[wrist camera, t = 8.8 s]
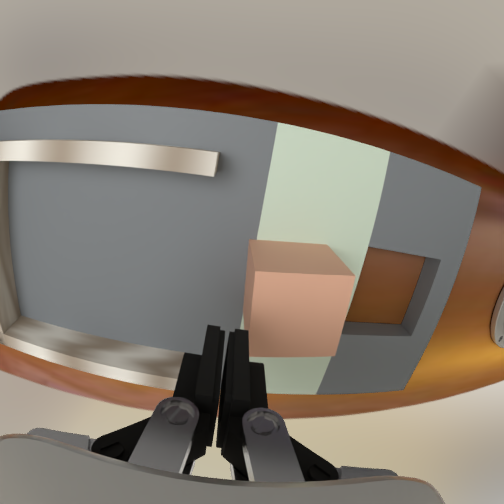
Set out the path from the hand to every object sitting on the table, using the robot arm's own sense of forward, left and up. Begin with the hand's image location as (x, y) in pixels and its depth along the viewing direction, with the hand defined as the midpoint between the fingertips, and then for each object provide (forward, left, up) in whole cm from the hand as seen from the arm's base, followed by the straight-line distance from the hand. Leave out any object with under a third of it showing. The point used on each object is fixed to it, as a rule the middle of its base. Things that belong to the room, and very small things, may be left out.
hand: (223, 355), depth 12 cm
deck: (+1, 0, -10) cm, 10 cm away
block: (-4, 0, -8) cm, 9 cm away
